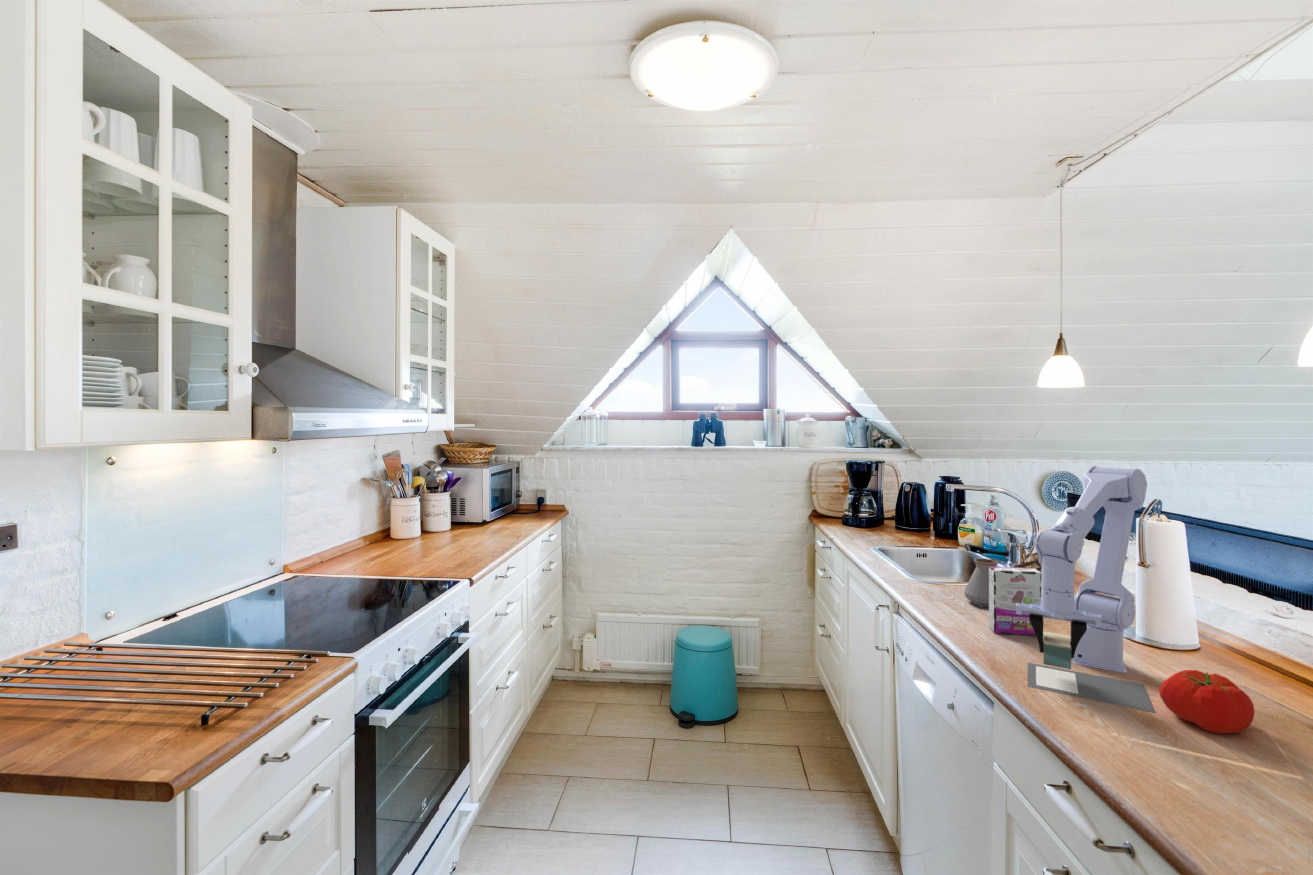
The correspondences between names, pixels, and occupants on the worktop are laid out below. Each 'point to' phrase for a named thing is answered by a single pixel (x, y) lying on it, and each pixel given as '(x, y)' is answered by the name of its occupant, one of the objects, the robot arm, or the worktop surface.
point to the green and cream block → (1057, 650)
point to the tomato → (1208, 701)
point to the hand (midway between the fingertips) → (1056, 653)
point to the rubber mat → (1089, 687)
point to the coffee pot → (984, 581)
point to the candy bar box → (1012, 599)
